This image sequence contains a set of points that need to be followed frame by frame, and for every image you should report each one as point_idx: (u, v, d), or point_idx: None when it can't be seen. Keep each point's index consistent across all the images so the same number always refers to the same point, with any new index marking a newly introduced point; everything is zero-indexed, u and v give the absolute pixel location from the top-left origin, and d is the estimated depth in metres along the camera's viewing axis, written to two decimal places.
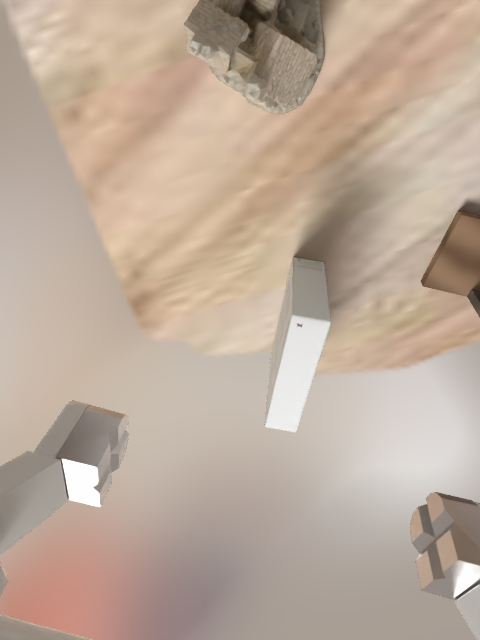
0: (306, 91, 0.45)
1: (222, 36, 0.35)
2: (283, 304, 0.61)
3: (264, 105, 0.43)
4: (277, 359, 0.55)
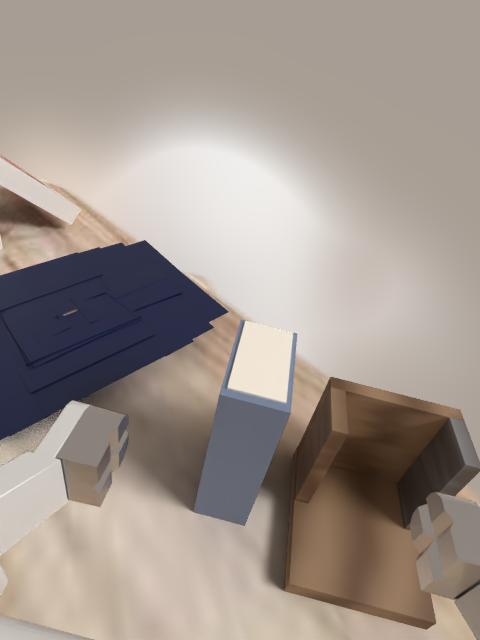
0: None
1: None
2: None
3: None
4: None
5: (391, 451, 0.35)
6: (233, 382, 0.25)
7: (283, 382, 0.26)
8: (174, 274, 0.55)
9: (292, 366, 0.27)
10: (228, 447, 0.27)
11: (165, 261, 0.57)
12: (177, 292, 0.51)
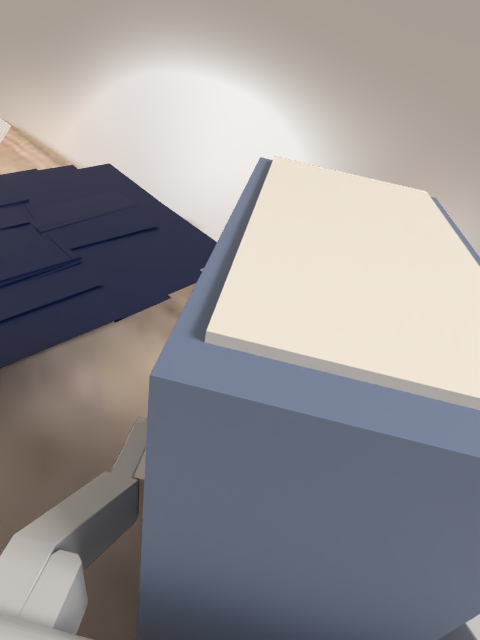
0: None
1: None
2: None
3: None
4: None
5: None
6: (245, 309, 0.04)
7: None
8: (148, 204, 0.34)
9: None
10: (222, 607, 0.06)
11: (136, 188, 0.36)
12: (149, 226, 0.31)
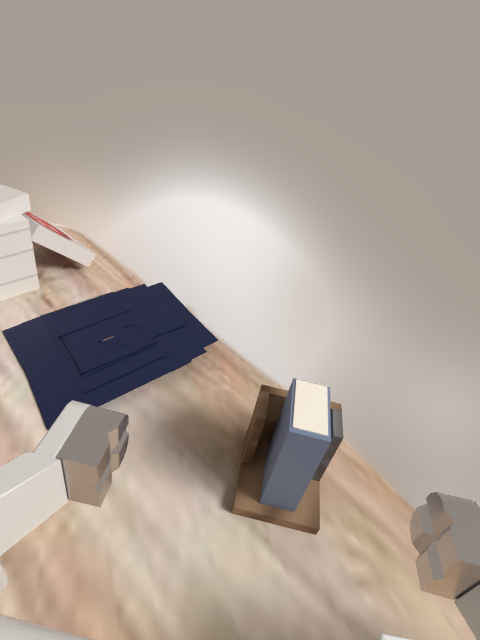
0: None
1: None
2: None
3: None
4: None
5: None
6: (296, 423, 0.41)
7: (325, 422, 0.42)
8: (181, 310, 0.75)
9: (329, 411, 0.44)
10: (290, 461, 0.44)
11: (175, 300, 0.77)
12: (182, 324, 0.72)
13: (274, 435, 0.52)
